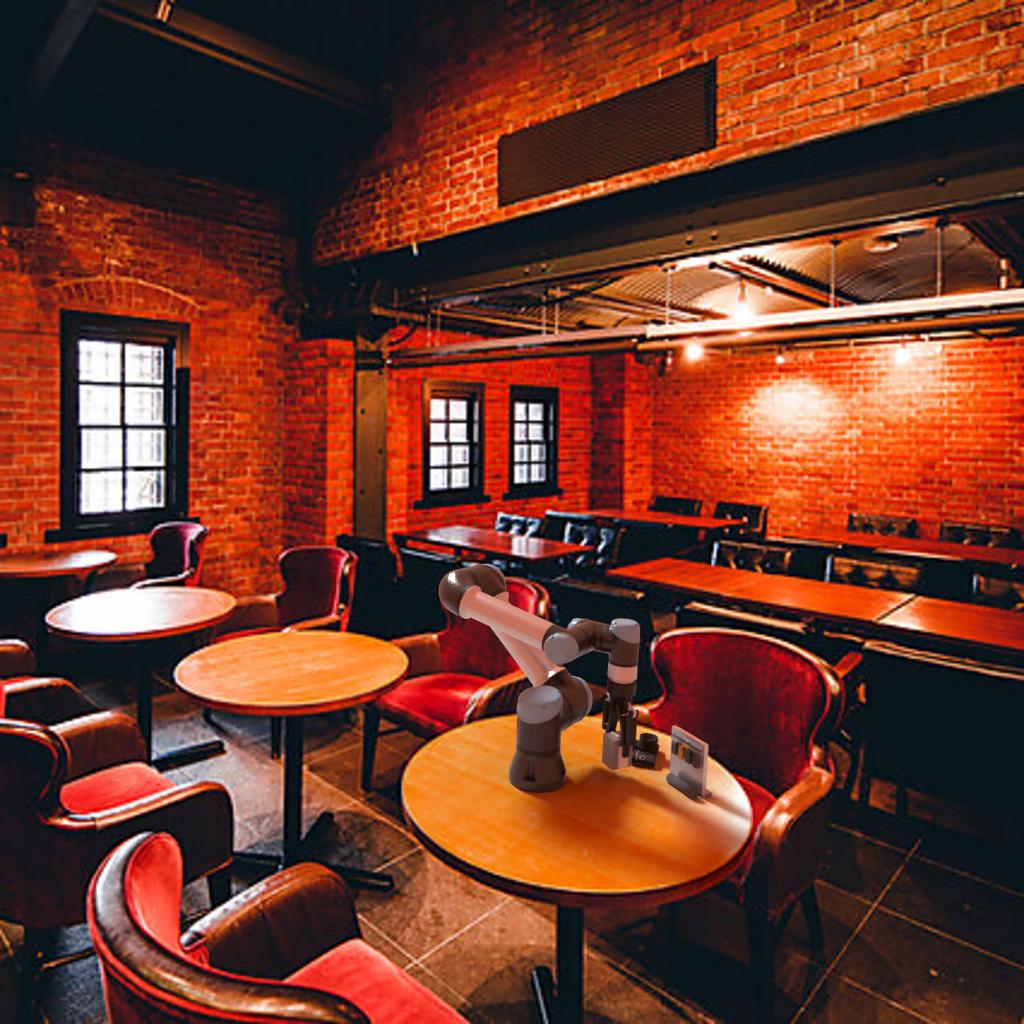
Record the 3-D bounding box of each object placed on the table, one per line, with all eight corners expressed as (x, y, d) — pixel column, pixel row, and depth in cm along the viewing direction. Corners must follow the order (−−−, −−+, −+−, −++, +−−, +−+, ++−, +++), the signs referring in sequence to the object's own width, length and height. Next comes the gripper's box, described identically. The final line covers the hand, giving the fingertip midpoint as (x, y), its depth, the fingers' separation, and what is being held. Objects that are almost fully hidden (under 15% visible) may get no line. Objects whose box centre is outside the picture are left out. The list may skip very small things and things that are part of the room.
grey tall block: (612, 770, 191) (614, 739, 190) (601, 761, 195) (603, 731, 194) (634, 765, 194) (636, 735, 193) (623, 757, 198) (625, 727, 197)
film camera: (658, 752, 198) (625, 735, 202) (649, 777, 199) (617, 759, 204) (673, 738, 210) (641, 721, 214) (665, 761, 211) (634, 744, 215)
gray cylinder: (698, 798, 185) (698, 789, 184) (690, 800, 184) (691, 791, 183) (673, 780, 194) (673, 772, 193) (665, 782, 193) (666, 773, 192)
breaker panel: (698, 799, 184) (701, 746, 182) (666, 776, 196) (669, 726, 194) (711, 796, 186) (714, 743, 184) (679, 774, 197) (681, 724, 196)
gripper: (654, 689, 185) (648, 776, 188) (615, 666, 201) (609, 746, 204) (630, 692, 182) (623, 781, 185) (591, 668, 198) (586, 750, 201)
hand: (616, 762), depth 194 cm, fingers closed on grey tall block, 5 cm apart
